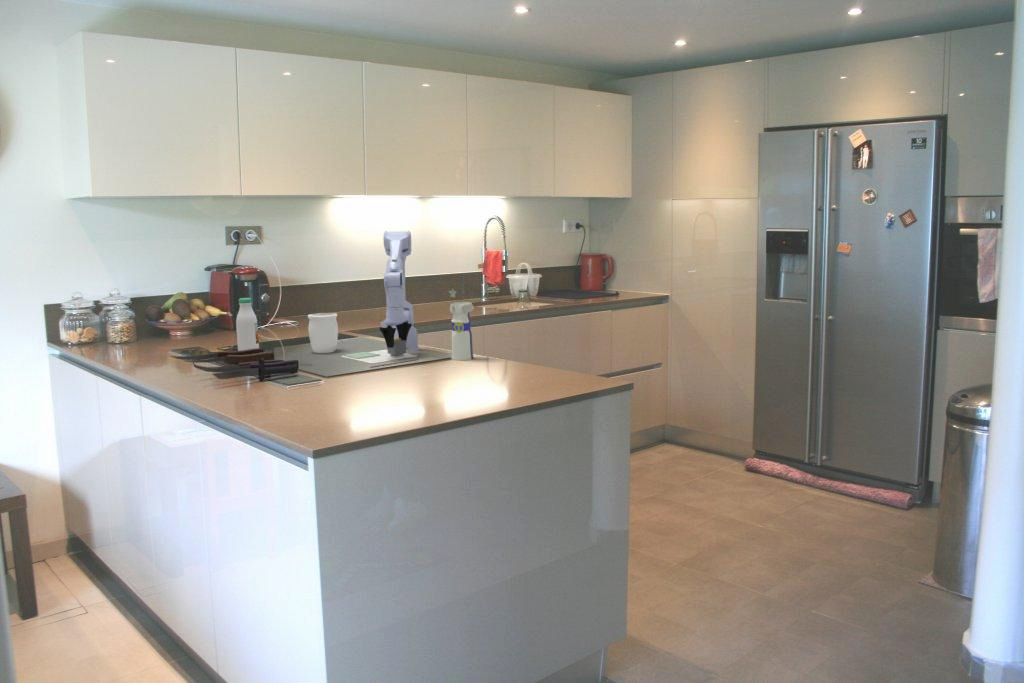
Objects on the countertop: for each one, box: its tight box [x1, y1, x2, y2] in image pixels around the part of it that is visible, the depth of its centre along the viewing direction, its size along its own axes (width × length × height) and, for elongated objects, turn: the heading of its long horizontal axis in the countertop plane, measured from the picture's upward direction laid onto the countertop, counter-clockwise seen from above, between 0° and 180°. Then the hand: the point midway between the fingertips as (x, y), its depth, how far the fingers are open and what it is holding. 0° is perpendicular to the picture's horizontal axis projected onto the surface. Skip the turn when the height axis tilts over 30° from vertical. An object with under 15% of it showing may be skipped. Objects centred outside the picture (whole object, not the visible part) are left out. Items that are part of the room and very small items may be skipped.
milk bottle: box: [235, 297, 260, 351], centre depth 315 cm, size 8×8×20 cm
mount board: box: [340, 348, 419, 369], centre depth 290 cm, size 19×20×6 cm
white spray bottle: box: [448, 288, 475, 361], centre depth 289 cm, size 8×9×25 cm
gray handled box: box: [386, 338, 407, 355], centre depth 289 cm, size 5×5×5 cm
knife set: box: [170, 347, 300, 382], centre depth 270 cm, size 35×33×8 cm
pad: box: [343, 351, 380, 359], centre depth 291 cm, size 9×9×1 cm
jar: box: [307, 312, 339, 354], centre depth 302 cm, size 11×10×15 cm
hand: (396, 345), depth 289 cm, fingers open, 7 cm apart
